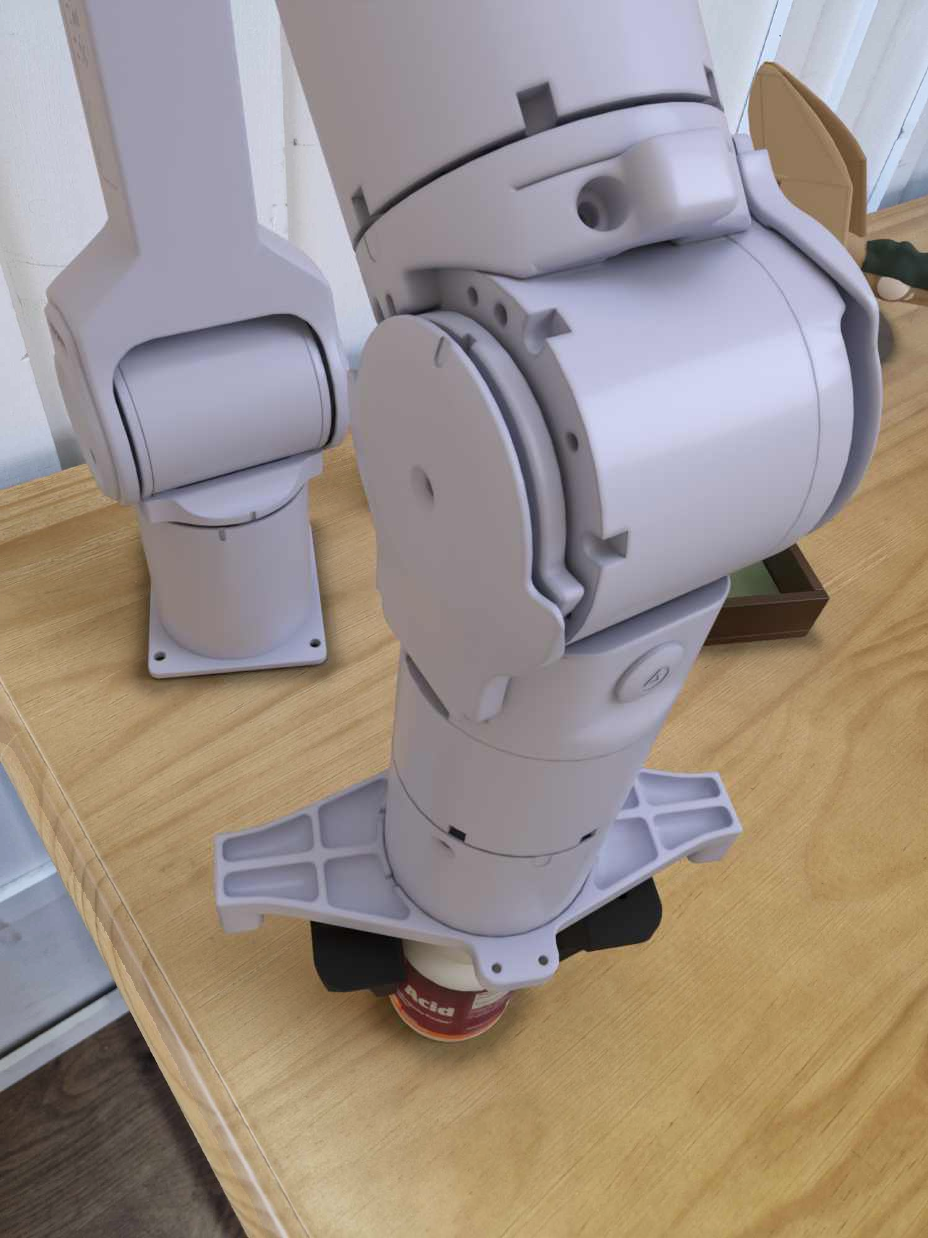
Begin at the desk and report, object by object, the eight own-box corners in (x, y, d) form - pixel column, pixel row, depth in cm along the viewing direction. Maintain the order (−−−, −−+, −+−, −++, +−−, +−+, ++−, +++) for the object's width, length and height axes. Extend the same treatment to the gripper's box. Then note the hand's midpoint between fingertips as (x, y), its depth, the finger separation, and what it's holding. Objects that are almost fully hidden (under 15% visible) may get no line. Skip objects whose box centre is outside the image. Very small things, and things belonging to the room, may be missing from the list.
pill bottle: (359, 966, 33) (364, 867, 26) (457, 891, 35) (484, 784, 29) (439, 1076, 31) (466, 998, 24) (538, 989, 33) (586, 896, 27)
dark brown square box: (623, 542, 49) (637, 502, 47) (748, 533, 51) (767, 494, 49) (670, 649, 45) (688, 610, 42) (806, 636, 46) (830, 598, 44)
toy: (897, 415, 60) (1033, 182, 48) (622, 318, 64) (690, 82, 53) (922, 306, 72) (1036, 99, 61) (689, 230, 76) (756, 23, 65)
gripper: (193, 965, 17) (248, 1122, 27) (866, 860, 20) (685, 1037, 30) (192, 670, 21) (239, 901, 31) (742, 621, 24) (621, 847, 34)
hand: (455, 954), depth 31 cm, fingers closed on pill bottle, 5 cm apart
